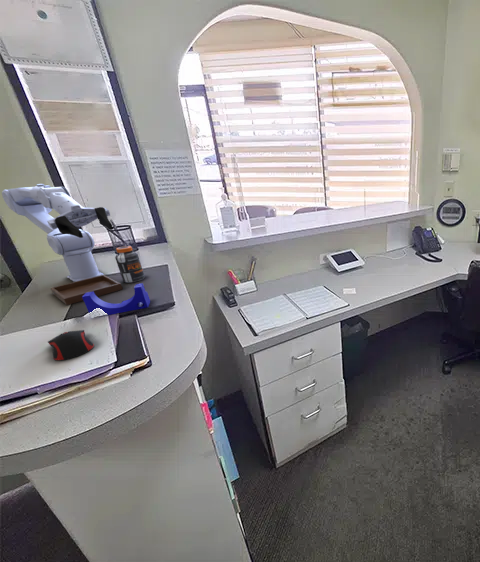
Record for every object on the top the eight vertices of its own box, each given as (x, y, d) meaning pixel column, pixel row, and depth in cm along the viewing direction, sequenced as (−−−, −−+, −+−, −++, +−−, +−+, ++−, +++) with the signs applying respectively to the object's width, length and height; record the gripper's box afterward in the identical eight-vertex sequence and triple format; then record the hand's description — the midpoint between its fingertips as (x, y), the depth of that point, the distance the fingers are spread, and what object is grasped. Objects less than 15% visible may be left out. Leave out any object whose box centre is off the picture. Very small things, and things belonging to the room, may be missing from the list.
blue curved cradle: (150, 301, 87) (143, 281, 84) (147, 307, 83) (140, 286, 81) (96, 311, 82) (87, 290, 79) (91, 318, 78) (82, 296, 76)
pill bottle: (133, 283, 100) (122, 249, 96) (119, 282, 102) (106, 249, 97) (149, 277, 106) (139, 245, 102) (135, 276, 107) (124, 244, 103)
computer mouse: (86, 333, 71) (79, 317, 70) (97, 349, 64) (89, 333, 63) (48, 345, 67) (40, 329, 65) (55, 364, 60) (47, 347, 58)
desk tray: (53, 294, 94) (50, 287, 94) (106, 280, 104) (104, 274, 104) (66, 305, 86) (63, 298, 85) (122, 289, 96) (120, 283, 95)
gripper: (34, 204, 87) (60, 226, 84) (94, 192, 98) (120, 212, 95) (44, 225, 92) (69, 247, 88) (100, 212, 103) (125, 231, 99)
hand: (96, 230), depth 92 cm, fingers open, 7 cm apart
